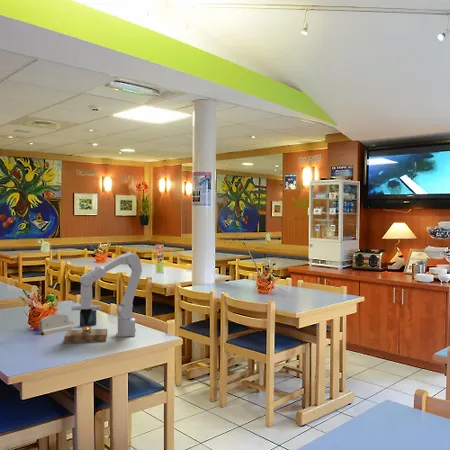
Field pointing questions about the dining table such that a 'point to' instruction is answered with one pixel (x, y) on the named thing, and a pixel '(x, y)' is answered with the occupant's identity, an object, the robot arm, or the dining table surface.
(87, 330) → the pin
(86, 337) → the hitch block
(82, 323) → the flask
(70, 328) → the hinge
